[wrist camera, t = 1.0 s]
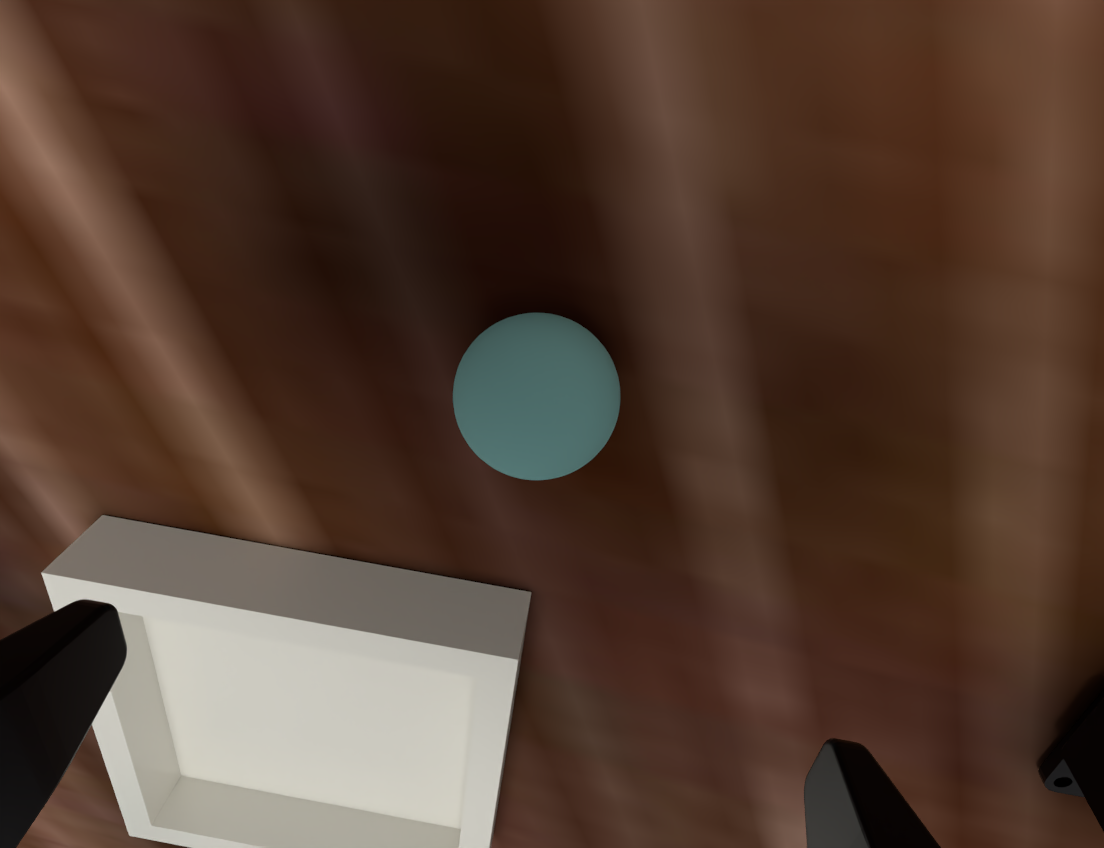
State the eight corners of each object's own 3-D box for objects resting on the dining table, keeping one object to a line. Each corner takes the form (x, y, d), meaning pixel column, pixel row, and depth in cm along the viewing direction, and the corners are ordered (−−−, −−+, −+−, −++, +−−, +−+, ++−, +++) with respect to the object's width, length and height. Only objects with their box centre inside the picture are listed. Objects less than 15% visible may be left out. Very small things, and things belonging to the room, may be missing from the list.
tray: (531, 592, 21) (518, 659, 19) (493, 833, 28) (480, 903, 25) (102, 514, 21) (41, 572, 19) (169, 771, 28) (129, 835, 26)
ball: (636, 302, 16) (633, 374, 13) (608, 436, 18) (600, 527, 15) (478, 276, 16) (437, 341, 13) (467, 412, 18) (430, 497, 15)
